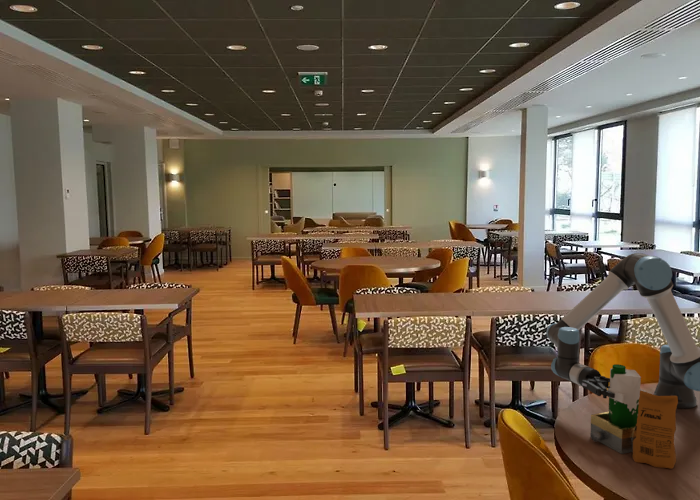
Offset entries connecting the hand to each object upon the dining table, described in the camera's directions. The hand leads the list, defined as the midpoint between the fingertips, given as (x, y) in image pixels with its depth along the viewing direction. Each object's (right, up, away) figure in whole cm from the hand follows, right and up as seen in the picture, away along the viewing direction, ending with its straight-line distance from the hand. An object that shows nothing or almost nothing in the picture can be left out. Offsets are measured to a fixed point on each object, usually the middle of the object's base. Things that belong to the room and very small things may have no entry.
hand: (634, 397), depth 195 cm
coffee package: (+2, -18, -8) cm, 20 cm away
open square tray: (-3, -17, +6) cm, 18 cm away
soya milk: (-1, -11, +6) cm, 12 cm away
